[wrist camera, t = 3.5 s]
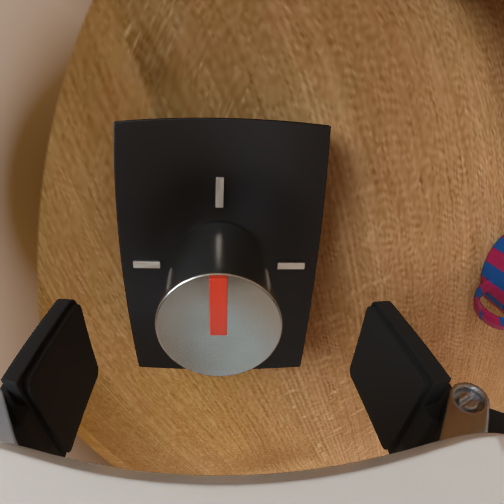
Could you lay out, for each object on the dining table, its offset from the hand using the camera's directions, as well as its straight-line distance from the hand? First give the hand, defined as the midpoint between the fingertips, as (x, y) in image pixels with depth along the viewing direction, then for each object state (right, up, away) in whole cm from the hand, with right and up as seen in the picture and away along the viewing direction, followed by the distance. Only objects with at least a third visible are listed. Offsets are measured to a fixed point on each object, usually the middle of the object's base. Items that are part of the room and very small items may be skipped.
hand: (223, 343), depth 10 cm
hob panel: (-1, +3, +9) cm, 10 cm away
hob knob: (-1, +2, +6) cm, 6 cm away
